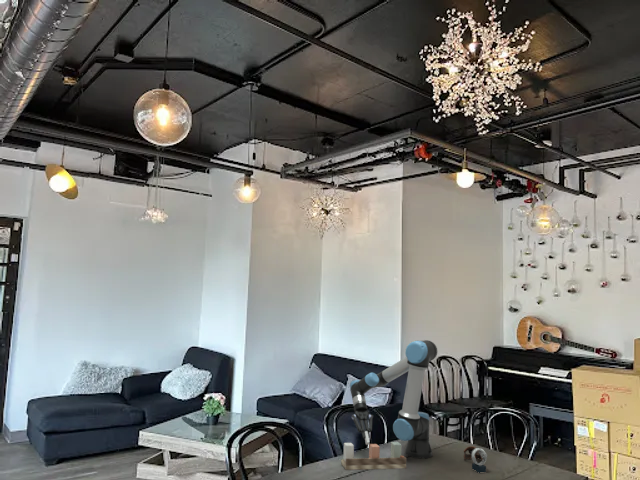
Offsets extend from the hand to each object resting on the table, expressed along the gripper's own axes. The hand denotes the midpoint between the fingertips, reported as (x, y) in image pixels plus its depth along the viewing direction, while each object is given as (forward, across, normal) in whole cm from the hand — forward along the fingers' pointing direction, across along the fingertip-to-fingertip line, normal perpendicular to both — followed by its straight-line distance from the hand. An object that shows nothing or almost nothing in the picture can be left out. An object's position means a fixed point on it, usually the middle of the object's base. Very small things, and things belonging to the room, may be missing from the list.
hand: (367, 443), depth 256 cm
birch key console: (+13, 0, +2) cm, 13 cm away
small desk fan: (+22, -53, +10) cm, 58 cm away
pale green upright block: (+10, -13, +2) cm, 17 cm away
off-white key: (+10, +13, +2) cm, 17 cm away
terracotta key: (+12, 0, +4) cm, 13 cm away
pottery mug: (+10, -59, -2) cm, 60 cm away
